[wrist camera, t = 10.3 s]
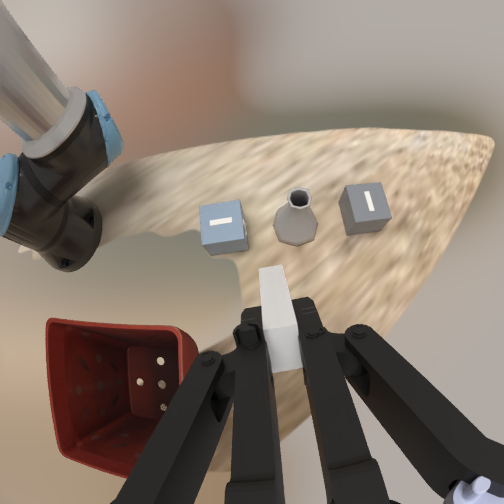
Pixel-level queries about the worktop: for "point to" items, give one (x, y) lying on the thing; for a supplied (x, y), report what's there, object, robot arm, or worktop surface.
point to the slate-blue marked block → (223, 228)
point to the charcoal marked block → (364, 208)
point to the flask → (296, 219)
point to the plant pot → (111, 387)
